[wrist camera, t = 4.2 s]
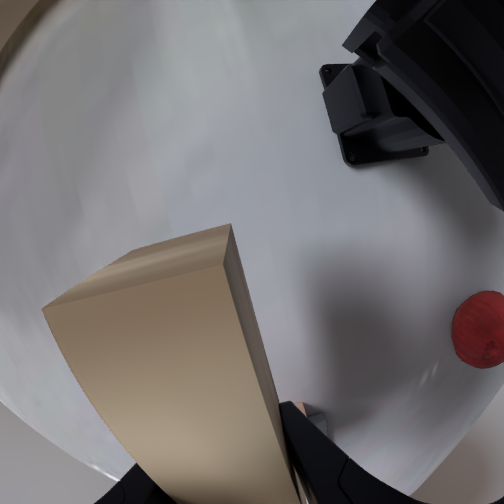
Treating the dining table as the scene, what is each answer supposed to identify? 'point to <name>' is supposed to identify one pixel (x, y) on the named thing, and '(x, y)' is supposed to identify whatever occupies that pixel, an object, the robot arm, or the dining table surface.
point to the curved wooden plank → (181, 370)
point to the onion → (480, 330)
